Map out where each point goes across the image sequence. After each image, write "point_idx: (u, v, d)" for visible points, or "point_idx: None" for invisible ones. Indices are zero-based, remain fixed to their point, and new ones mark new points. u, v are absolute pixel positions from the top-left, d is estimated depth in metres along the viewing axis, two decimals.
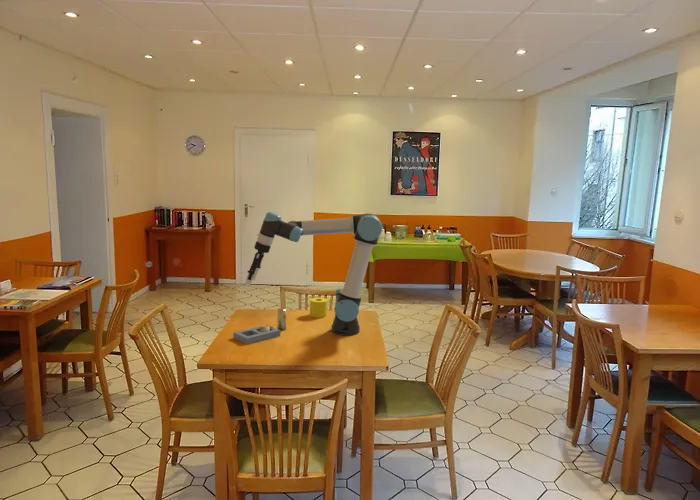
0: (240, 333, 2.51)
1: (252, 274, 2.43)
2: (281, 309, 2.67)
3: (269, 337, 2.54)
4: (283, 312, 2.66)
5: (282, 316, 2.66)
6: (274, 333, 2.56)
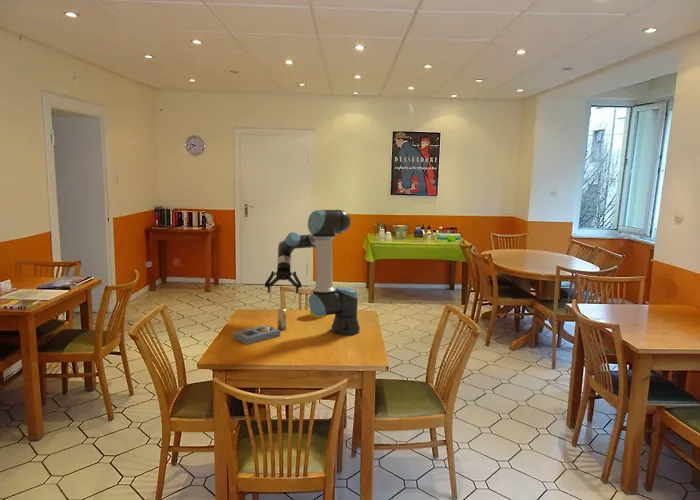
0: (240, 333, 2.51)
1: (268, 286, 2.80)
2: (281, 309, 2.67)
3: (269, 337, 2.54)
4: (283, 312, 2.66)
5: (282, 316, 2.66)
6: (274, 333, 2.56)
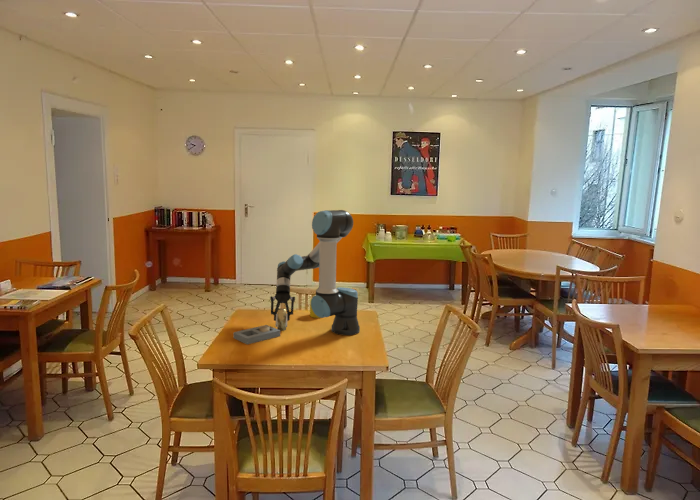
0: (240, 333, 2.51)
1: (274, 314, 2.68)
2: (281, 309, 2.67)
3: (269, 337, 2.54)
4: (283, 312, 2.66)
5: (282, 316, 2.66)
6: (274, 333, 2.56)
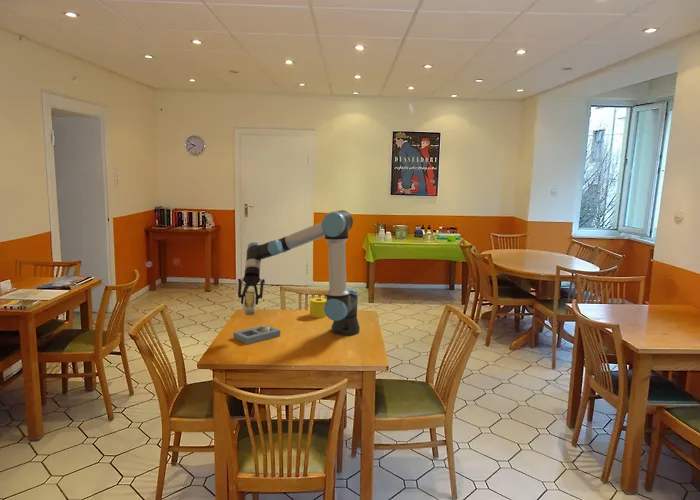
0: (240, 333, 2.51)
1: (241, 297, 2.49)
2: (249, 292, 2.49)
3: (269, 337, 2.54)
4: (251, 295, 2.47)
5: (250, 299, 2.48)
6: (274, 333, 2.56)
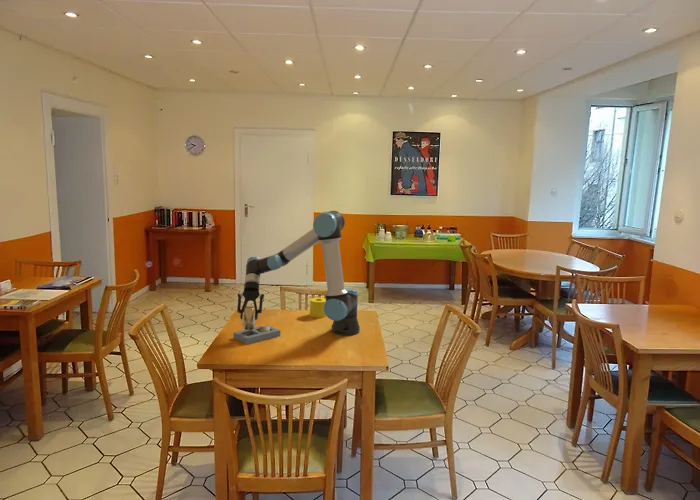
0: (240, 333, 2.51)
1: (241, 312, 2.51)
2: (248, 307, 2.50)
3: (269, 337, 2.54)
4: (250, 310, 2.49)
5: (249, 315, 2.49)
6: (274, 333, 2.56)
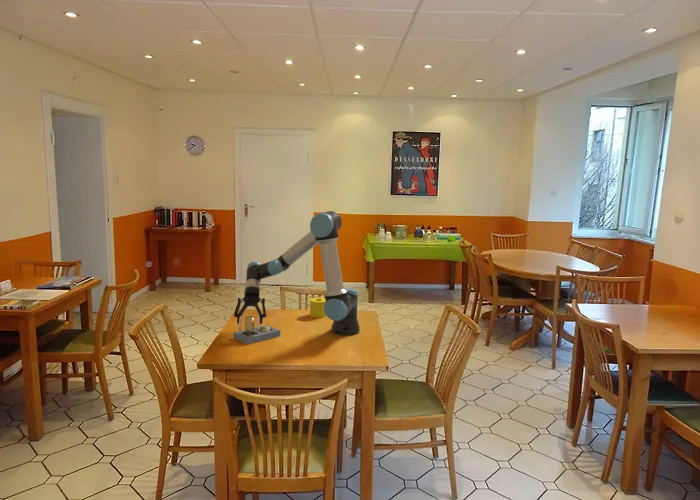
0: (240, 333, 2.51)
1: (237, 316, 2.51)
2: (249, 317, 2.51)
3: (269, 337, 2.54)
4: (251, 320, 2.49)
5: (250, 325, 2.50)
6: (274, 333, 2.56)
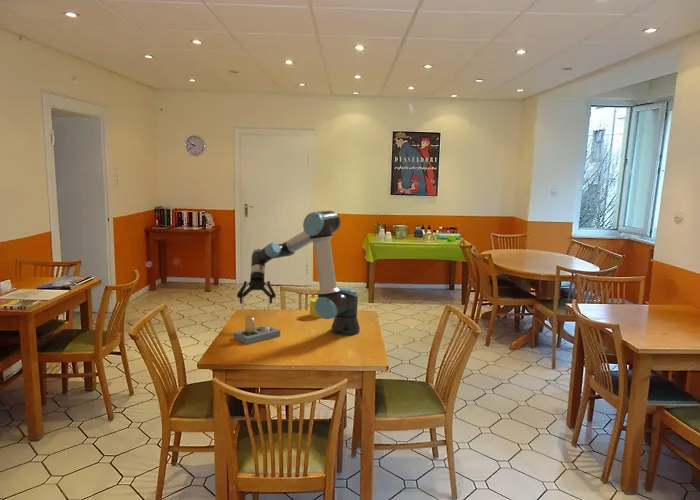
0: (240, 333, 2.51)
1: (240, 297, 2.68)
2: (249, 317, 2.51)
3: (269, 337, 2.54)
4: (251, 320, 2.49)
5: (250, 325, 2.50)
6: (274, 333, 2.56)
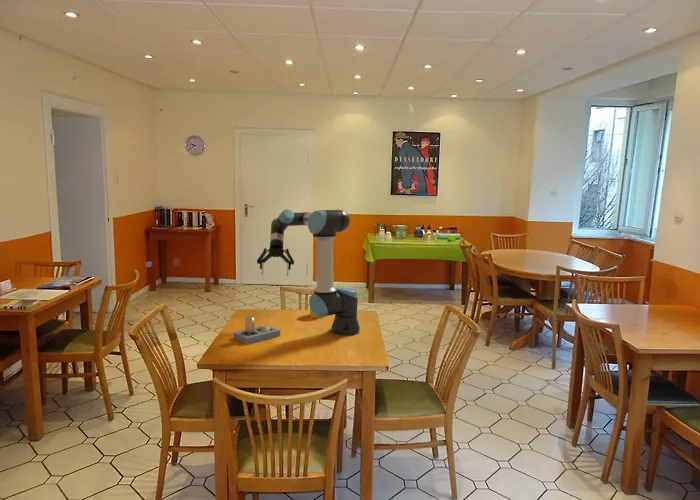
0: (240, 333, 2.51)
1: (260, 263, 2.78)
2: (249, 317, 2.51)
3: (269, 337, 2.54)
4: (251, 320, 2.49)
5: (250, 325, 2.50)
6: (274, 333, 2.56)
